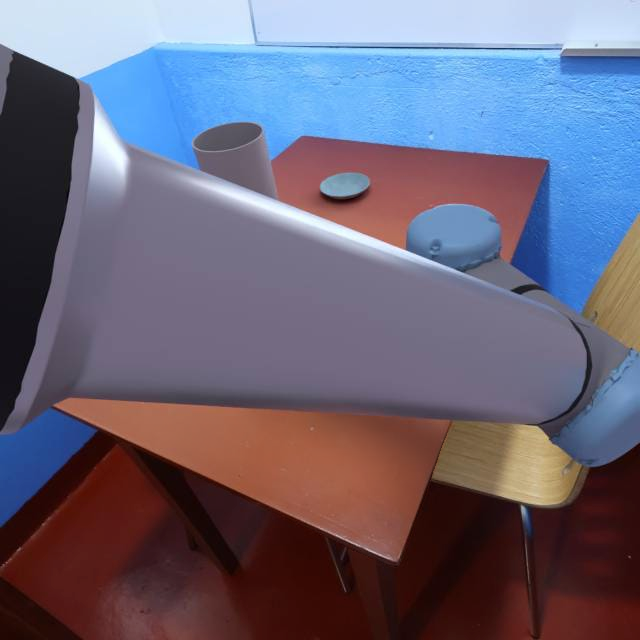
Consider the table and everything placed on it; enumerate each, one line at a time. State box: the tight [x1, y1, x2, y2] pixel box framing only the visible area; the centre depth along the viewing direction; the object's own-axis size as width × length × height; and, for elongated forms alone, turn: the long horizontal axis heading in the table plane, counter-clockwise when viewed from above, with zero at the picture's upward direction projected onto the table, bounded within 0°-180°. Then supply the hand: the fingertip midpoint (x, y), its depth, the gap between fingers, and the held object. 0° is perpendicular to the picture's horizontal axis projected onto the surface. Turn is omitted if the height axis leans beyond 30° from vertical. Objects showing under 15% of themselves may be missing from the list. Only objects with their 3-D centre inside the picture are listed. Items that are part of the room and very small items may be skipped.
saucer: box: [319, 172, 371, 200], centre depth 111 cm, size 12×12×2 cm
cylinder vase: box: [191, 121, 280, 201], centre depth 88 cm, size 12×12×25 cm
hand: (223, 261), depth 65 cm, fingers closed on salt shaker, 3 cm apart
